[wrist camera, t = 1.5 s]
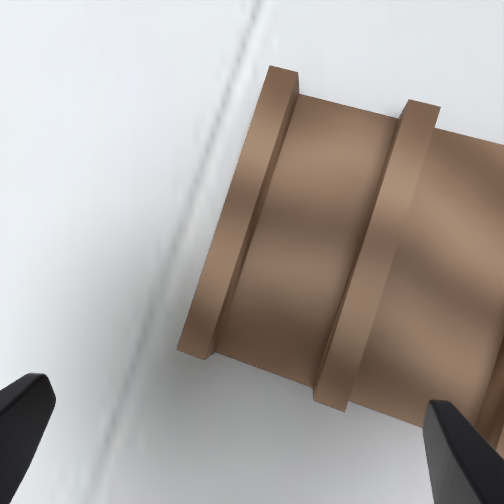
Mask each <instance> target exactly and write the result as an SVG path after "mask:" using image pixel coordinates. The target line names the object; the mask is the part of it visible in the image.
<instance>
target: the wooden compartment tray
mask: <svg viewBox="0 0 504 504" xmlns="http://www.w3.org/2000/svg"><path fill="white" fill-rule="evenodd" d="M440 108H441V107H439V106H435V105H431V104H427V103H422V102H418V101H414V100H410V99H409V100H408V102H407V104H406V106H405V108H404V109H403V111H402V113H401V115H400V117H399V119H397V118H394V117H390V116H386V115H382V114H378V113H374V112H370V111H366V110H362V109H358V108H354V107H350V106H346V105H342V104H338V103H334V102H330V101H326V100H322V99H318V98H314V97H310V96H306V95H302V94H299V79H298V72H295V71H291V70H286V69H282V68H278V67H274V66H269V69H268V72H267V75H266V78H265V81H264V84H263V87H262V90H261V93H260V97H259V100H258V103H257V106H256V109H255V112H254V115H253V118H252V121H251V124H250V127H249V130H248V133H247V136H246V139H245V142H244V145H243V148H242V151H241V154H240V157H239V161H238V164H237V167H236V170H235V173H234V176H233V179H232V182H231V185H230V188H229V191H228V194H227V197H226V200H225V203H224V206H223V209H222V212H221V215H220V218H219V221H218V225H217V228H216V231H215V234H214V237H213V240H212V243H211V246H210V249H209V252H208V255H207V258H206V261H205V264H204V267H203V270H202V273H201V276H200V279H199V282H198V286H197V289H196V292H195V295H194V298H193V301H192V304H191V307H190V310H189V313H188V316H187V319H186V322H185V325H184V328H183V331H182V334H181V337H180V340H179V343H178V346H177V350H179V351H181V352H184V353H187V354H189V355H192V356H195V357H198V358H200V359H203V360H205V359H207V358H208V357H209V356H211V355H212V354H213V353H215V352H217V353H220V354H222V355H225V356H228V357H231V358H233V359H236V360H239V361H241V362H244V363H247V364H250V365H252V366H255V367H258V368H261V369H263V370H266V371H269V372H271V373H274V374H277V375H280V376H282V377H285V378H288V379H291V380H293V381H296V382H299V383H301V384H304V385H307V386H310V387H312V388H313V401H316V402H319V403H321V404H324V405H327V406H330V407H332V408H335V409H338V410H340V411H343V412H345V410H346V406H347V403H348V401H351V402H353V403H356V404H359V405H362V406H364V407H367V408H370V409H372V410H375V411H378V412H381V413H383V414H386V415H389V416H392V417H394V418H397V419H400V420H403V421H405V422H408V423H411V424H413V425H416V426H419V427H422V428H423V422H424V418H425V413H426V409H427V404H428V402H429V400H432V399H435V400H447V401H450V402H451V403H452V404H453V405H454V406H455V407H456V408H457V409H458V410H459V411H460V412H461V413H462V414H463V415H464V417H465V418H466V419H467V420H468V421H469V422H470V423H471V424H472V425H473V426H474V427H475V428H476V430H477V431H478V432H479V433H480V434H481V435H482V436H483V437H484V438H485V439H486V440H487V441H488V443H489V444H490V445H491V446H492V447H493V448H494V449H495V450H496V451H497V452H498V453H499V454H500V456H501V457H502V458H503V459H504V145H501V144H497V143H493V142H489V141H485V140H481V139H477V138H473V137H469V136H465V135H461V134H457V133H453V132H449V131H445V130H441V129H437V128H434V127H435V124H436V121H437V117H438V114H439V111H440Z"/></svg>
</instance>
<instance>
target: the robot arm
mask: <svg viewBox="0 0 504 504" xmlns="http://www.w3.org/2000/svg"><path fill="white" fill-rule="evenodd" d="M55 403H56V396H55V393H54V391H53V388H52V386H51V383H50V381H49V378H48V377H47V375H45V374H42V373H28V374H26V375H24V376H23V377H21V378H19V379H18V380H16V381H15V382H13V383H11V384H10V385H8V386H7V387H5V388H3V389H2V390H0V504H10V502H11V500H12V498H13V496H14V495H15V493H16V491H17V489H18V487H19V485H20V483H21V482H22V480H23V478H24V476H25V474H26V472H27V470H28V468H29V466H30V464H31V461H32V459H33V457H34V455H35V452H36V450H37V448H38V445H39V443H40V440H41V438H42V436H43V433H44V431H45V429H46V426H47V424H48V422H49V419H50V417H51V414H52V412H53V410H54V407H55ZM423 438H424V444H425V450H426V456H427V462H428V468H429V475H430V481H431V487H432V493H433V499H434V504H504V459H503V458H502V457H501V456H500V454H499V453H498V452H497V451H496V450H495V449H494V448H493V447H492V446H491V445H490V444H489V443H488V441H487V440H486V439H485V438H484V437H483V436H482V435H481V434H480V433H479V432H478V431H477V430H476V428H475V427H474V426H473V425H472V424H471V423H470V422H469V421H468V420H467V419H466V418H465V417H464V415H463V414H462V413H461V412H460V411H459V410H458V409H457V408H456V407H455V406H454V405H453V404H452V403H451V402H450V401H447V400H435V399H432V400H429V402H428V404H427V409H426V413H425V418H424V422H423Z"/></svg>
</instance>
